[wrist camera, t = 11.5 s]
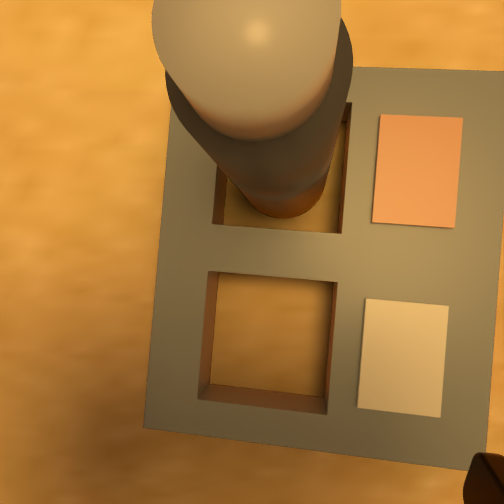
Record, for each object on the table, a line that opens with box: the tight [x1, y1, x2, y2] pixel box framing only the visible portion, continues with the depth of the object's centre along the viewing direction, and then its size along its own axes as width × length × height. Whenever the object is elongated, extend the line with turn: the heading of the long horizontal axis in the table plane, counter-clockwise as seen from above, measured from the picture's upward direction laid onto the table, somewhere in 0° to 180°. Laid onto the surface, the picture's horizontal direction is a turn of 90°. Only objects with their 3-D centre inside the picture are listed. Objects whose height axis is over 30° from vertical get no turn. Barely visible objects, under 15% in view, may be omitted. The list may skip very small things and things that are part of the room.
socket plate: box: [143, 67, 504, 471], centre depth 20 cm, size 16×14×3 cm
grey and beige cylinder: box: [152, 0, 353, 218], centre depth 14 cm, size 4×4×14 cm
